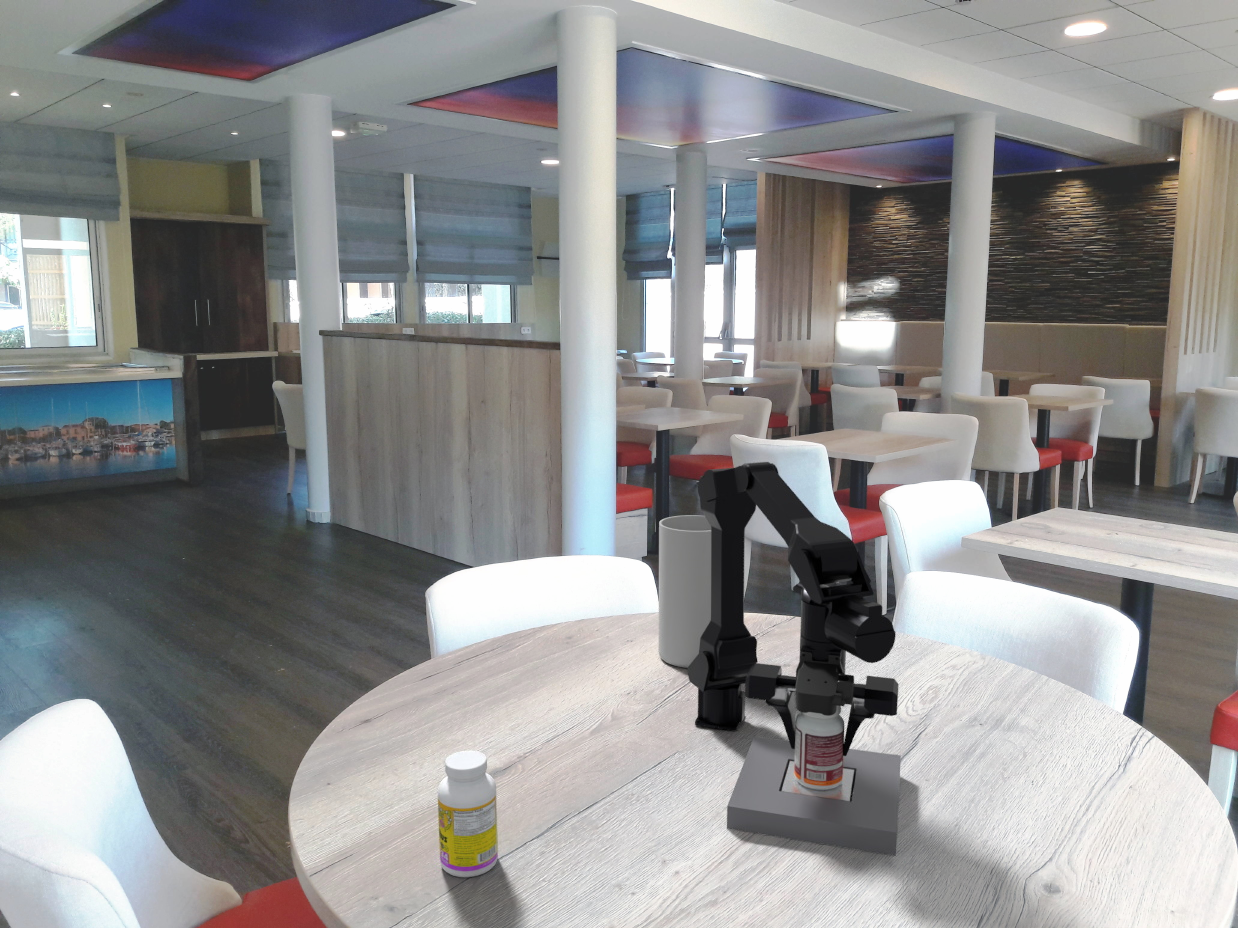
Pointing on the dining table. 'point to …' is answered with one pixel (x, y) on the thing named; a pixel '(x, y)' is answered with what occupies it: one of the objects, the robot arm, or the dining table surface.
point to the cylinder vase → (683, 587)
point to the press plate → (818, 801)
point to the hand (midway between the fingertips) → (819, 751)
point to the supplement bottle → (467, 816)
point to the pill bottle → (819, 750)
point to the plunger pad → (837, 793)
